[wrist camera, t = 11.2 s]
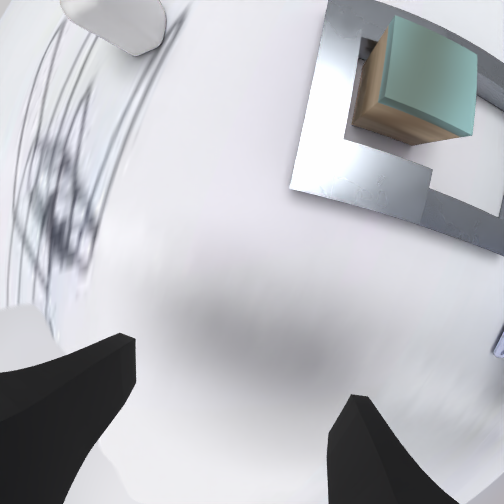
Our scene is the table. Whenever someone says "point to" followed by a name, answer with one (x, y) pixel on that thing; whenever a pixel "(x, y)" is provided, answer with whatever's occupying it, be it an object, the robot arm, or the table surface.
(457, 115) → the plug block
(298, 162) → the keyhole plate
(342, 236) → the table surface
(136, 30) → the eye dropper bottle
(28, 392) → the robot arm
